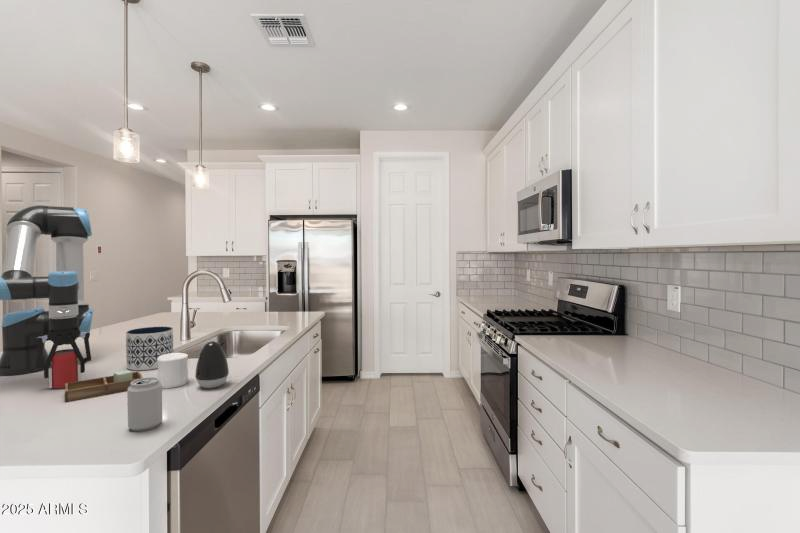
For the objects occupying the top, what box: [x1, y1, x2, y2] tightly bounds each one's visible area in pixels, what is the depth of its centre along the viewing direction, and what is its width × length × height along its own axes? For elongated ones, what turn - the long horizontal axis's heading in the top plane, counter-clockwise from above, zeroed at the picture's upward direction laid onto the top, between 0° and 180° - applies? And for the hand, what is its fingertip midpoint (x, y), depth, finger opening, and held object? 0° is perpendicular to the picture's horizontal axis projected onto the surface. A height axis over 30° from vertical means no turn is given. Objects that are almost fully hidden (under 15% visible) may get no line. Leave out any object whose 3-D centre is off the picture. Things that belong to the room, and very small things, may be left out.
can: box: [126, 376, 163, 432], centre depth 99 cm, size 8×8×12 cm
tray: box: [64, 371, 144, 403], centre depth 126 cm, size 10×20×3 cm, turn 131°
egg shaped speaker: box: [194, 340, 230, 389], centre depth 130 cm, size 10×10×15 cm
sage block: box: [113, 369, 133, 383], centre depth 129 cm, size 4×4×4 cm
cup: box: [156, 352, 189, 389], centre depth 132 cm, size 10×10×10 cm
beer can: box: [51, 348, 79, 390], centre depth 130 cm, size 7×7×12 cm
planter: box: [125, 326, 174, 372], centre depth 155 cm, size 16×16×14 cm
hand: (65, 384), depth 130 cm, fingers closed on beer can, 7 cm apart
